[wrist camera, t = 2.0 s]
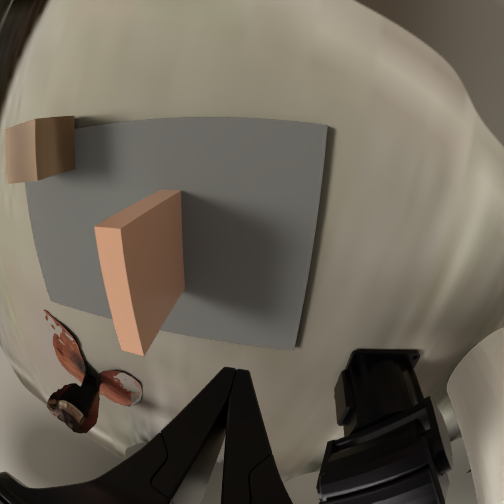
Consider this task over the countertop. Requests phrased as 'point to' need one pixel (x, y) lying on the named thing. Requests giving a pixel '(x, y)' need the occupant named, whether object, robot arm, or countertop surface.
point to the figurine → (84, 388)
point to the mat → (194, 218)
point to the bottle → (482, 414)
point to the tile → (142, 266)
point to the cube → (39, 149)
